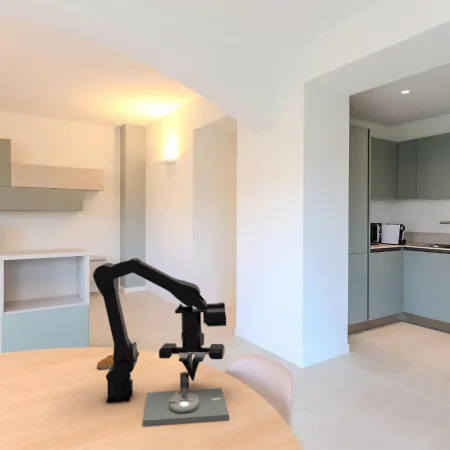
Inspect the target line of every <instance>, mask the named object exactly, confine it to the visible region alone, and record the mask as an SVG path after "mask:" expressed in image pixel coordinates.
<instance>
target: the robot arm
mask: <svg viewBox="0 0 450 450" xmlns="http://www.w3.org/2000/svg"><path fill="white" fill-rule="evenodd" d="M130 274H134V275H136V276H139V277H140V278H142V279H145V280H147V282H150V283H152V284H154V285H155V286H158V287H160V288H162V289H164V290H165V291H168V292H169V293H170V294H171V295H172V296H174V298H175V299H177V300H178V301H180V302H181V303H179V304H178V306H177V307H176V308H175V309H174V314H176V315H177V314H181V315H180V316H181V334H180V335H181V337H180V338H181V339H180V340H181V341H182V342H181V344H182V346H177V343H175V342H172V343H171V342H168V343H167V342H165V343H164V344H163V345H162V346H161V347H160V349H158V359H170V358H172V356H173V355H179V358H178V362H181V363H182V364H183V366H184V368H185V369H186V372H188V374H189V379H190V380H191V381H193V382H194V380H195V379H196V375H197V371H198V367H199V365H200V363H201V362H202V363H203V361H204V359H205V357H206V355H208V357H209V359H210V360H222V359H224V355H225V353H226V349H225V345H224V344H223V343H211V344H210V345H209V347H203V346H204V345H205V333H203V332H202V331H203V330H202V322H203V324H205V326H207V328H208V327H210V328H211V327H212V328H213V327H226V326H227V314H226V304H225V302H221V301H220V302H217V303H208V302H207V301H206V299H205V298H204V297H203V296H202V295H201V289H200V287H199V286H198V285H197V284H195V283H193V282H189V281H186V280H183V279H179V278H178V279H177V278H175V277H173V276H171V275H169V274H167V273H165V272H163V271H161V270H160V269H157V268H156V267H154V266H152V265H150V264H148V263H146V262H145V261H142V260H141V259H140V258H138V257H133V258H131V259H128V260H125V261H120V262H118V263H111V262H105V263H103V264H101V265H99V266H97V267H96V268H95V269H94V271H93V274H92V277H93V278H92V279H93V281H94V283H95V286H96V288H97V290H98V292H99V293H100V294H101V296H102V299H103V302H104V305H105V306H104V307H105V310H106V315H107V319H108V323H109V324H108V325H109V328H110V332H111V337H112V341H113V363H114V364H113V365H112V366H111V368H109V369H108V371H107V373H106V375H105V379H106V381H107V397H106V401H105V402H106V403H107V404H112V403H114V404H115V403H128V402H130V401H131V398H132V397H133V394H134V379H133V378H132V376H131V373H132V372H133V371H134V369H135V367H136V364H137V362H138V360H139V359H138V357H139V356H140V353H139V351H138V349H137V348H138V346H137V344H138V343H137V341H134V342H132V341H131V339H130V338H129V335H128V331H127V326H126V322H125V317H124V313H123V308H122V304H121V299H120V295H119V284H120V283H119V282H120V280H119V279H120V278H121V277H124V276H127V275H130ZM184 305H185V306H184ZM202 315H203V317H202ZM202 320H203V321H202ZM193 355H194V356H193ZM131 378H132V379H131Z"/></svg>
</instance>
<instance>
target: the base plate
mask: <svg viewBox="0 0 450 450" xmlns="http://www.w3.org/2000/svg"><path fill="white" fill-rule="evenodd" d="M181 391H182V390H167V391H151V392H146V397H145V403H144V410H143V414H142V415H143V416H142V427H157V426H168V425H169V426H171V425H182V424H183V425H184V424H185V425H186V424H195V423H199V424H200V423H208V422H209V423H210V422H211V423H212V422H225V421H226V422H227V421H230V413H229V410H228V406H227V403H226V399H225V398H226V397H225V395H224V391H223V388H222V387H219V388H218V387H215V388H203V389H202V388H199V389H188V390H187V393H191V394H195V395H196V396H198V398H199V406H198V408H197V409H195V410H193V411H191V412H186V413H178V412H174V411H172V410H170V408H169V399H170V397H172V396H173V395H176V394H179V393H181Z"/></svg>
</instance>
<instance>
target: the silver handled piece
mask: <svg viewBox="0 0 450 450" xmlns="http://www.w3.org/2000/svg"><path fill="white" fill-rule="evenodd" d="M179 377H180V378H179V389H180V390H179V391H181V390H182V391H181V393H179V394H176V395H173V396H172V397H170V399H169V408H170V410H172V411H174V412H178V413H186V412H191V411H193V410H195V409H197V408H198V406H199V398H198V396H196V395H195V394H191V393H187V390H190V376H189V374H188V371H182V372H180V374H179Z"/></svg>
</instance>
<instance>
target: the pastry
mask: <svg viewBox="0 0 450 450" xmlns="http://www.w3.org/2000/svg"><path fill="white" fill-rule="evenodd" d="M113 364H114V363H113V354H109V355H107V356H106V357H104V358H102V359H101V360H100V361H98V362H97V364H96V368H98V369H101V370H107V368H109V369H110V368H111V366H112V365H113Z"/></svg>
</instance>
